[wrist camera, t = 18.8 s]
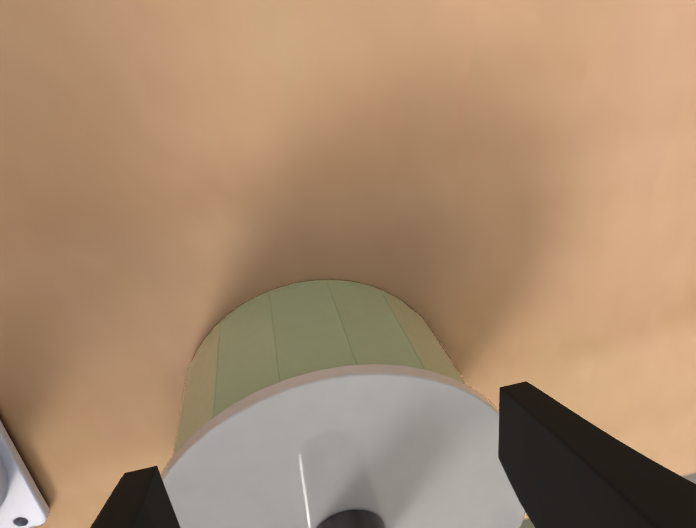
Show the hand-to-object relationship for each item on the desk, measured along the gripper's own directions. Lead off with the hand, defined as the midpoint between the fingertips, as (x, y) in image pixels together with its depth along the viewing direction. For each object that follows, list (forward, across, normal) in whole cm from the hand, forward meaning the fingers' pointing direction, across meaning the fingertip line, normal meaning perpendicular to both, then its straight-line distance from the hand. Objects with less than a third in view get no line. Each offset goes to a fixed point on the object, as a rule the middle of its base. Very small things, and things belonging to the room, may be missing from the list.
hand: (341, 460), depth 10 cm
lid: (+3, 0, +6) cm, 7 cm away
